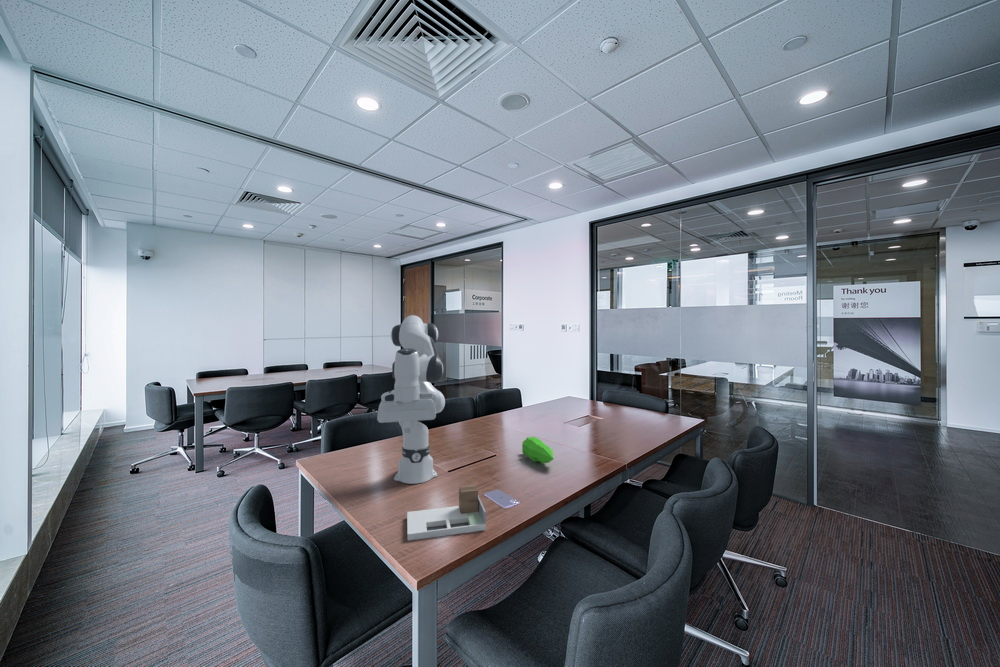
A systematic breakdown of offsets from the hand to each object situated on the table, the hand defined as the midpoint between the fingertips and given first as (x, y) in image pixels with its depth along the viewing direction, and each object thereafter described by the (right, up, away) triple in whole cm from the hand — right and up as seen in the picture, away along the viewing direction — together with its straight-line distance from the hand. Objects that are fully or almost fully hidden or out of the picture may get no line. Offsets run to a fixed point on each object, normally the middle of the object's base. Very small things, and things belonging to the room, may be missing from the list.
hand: (407, 433), depth 132 cm
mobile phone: (+33, -30, +13) cm, 47 cm away
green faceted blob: (+52, -29, +55) cm, 81 cm away
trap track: (+14, -29, -6) cm, 33 cm away
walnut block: (+22, -27, 0) cm, 35 cm away
